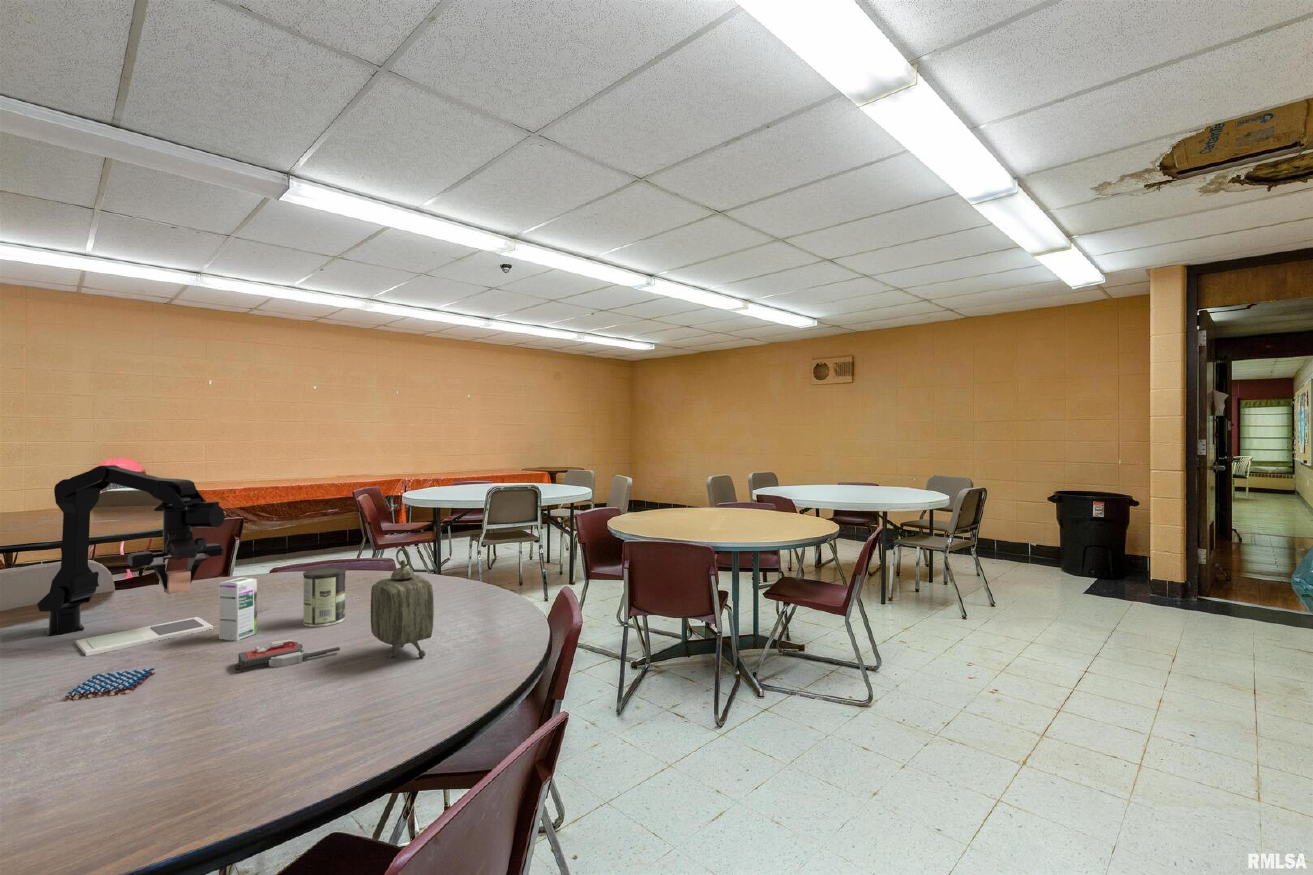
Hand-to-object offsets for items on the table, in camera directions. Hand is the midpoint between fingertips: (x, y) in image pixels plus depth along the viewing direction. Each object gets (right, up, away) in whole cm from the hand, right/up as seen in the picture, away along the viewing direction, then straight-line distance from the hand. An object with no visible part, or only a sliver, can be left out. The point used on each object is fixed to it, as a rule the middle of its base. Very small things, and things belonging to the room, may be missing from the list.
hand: (177, 587), depth 150 cm
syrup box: (+19, -12, -4) cm, 23 cm away
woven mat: (+16, -12, -34) cm, 40 cm away
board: (-4, -11, -5) cm, 13 cm away
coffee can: (+34, -12, +8) cm, 37 cm away
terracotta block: (0, -1, 0) cm, 1 cm away
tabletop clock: (+66, -12, -16) cm, 69 cm away
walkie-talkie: (+41, -12, -19) cm, 47 cm away
